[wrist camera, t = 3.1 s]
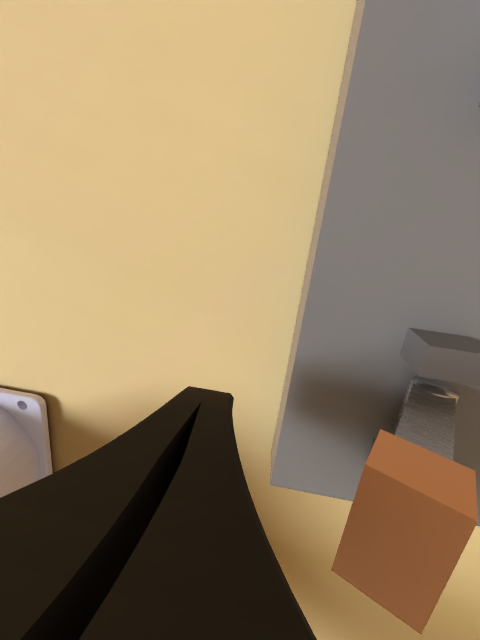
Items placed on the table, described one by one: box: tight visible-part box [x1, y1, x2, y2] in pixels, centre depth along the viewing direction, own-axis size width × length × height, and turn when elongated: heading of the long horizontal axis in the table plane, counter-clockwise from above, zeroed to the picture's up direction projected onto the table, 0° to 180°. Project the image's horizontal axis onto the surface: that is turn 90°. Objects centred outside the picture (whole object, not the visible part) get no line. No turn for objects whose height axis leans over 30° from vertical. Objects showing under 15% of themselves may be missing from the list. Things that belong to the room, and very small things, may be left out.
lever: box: [332, 375, 478, 634], centre depth 9 cm, size 2×3×6 cm, turn 170°
